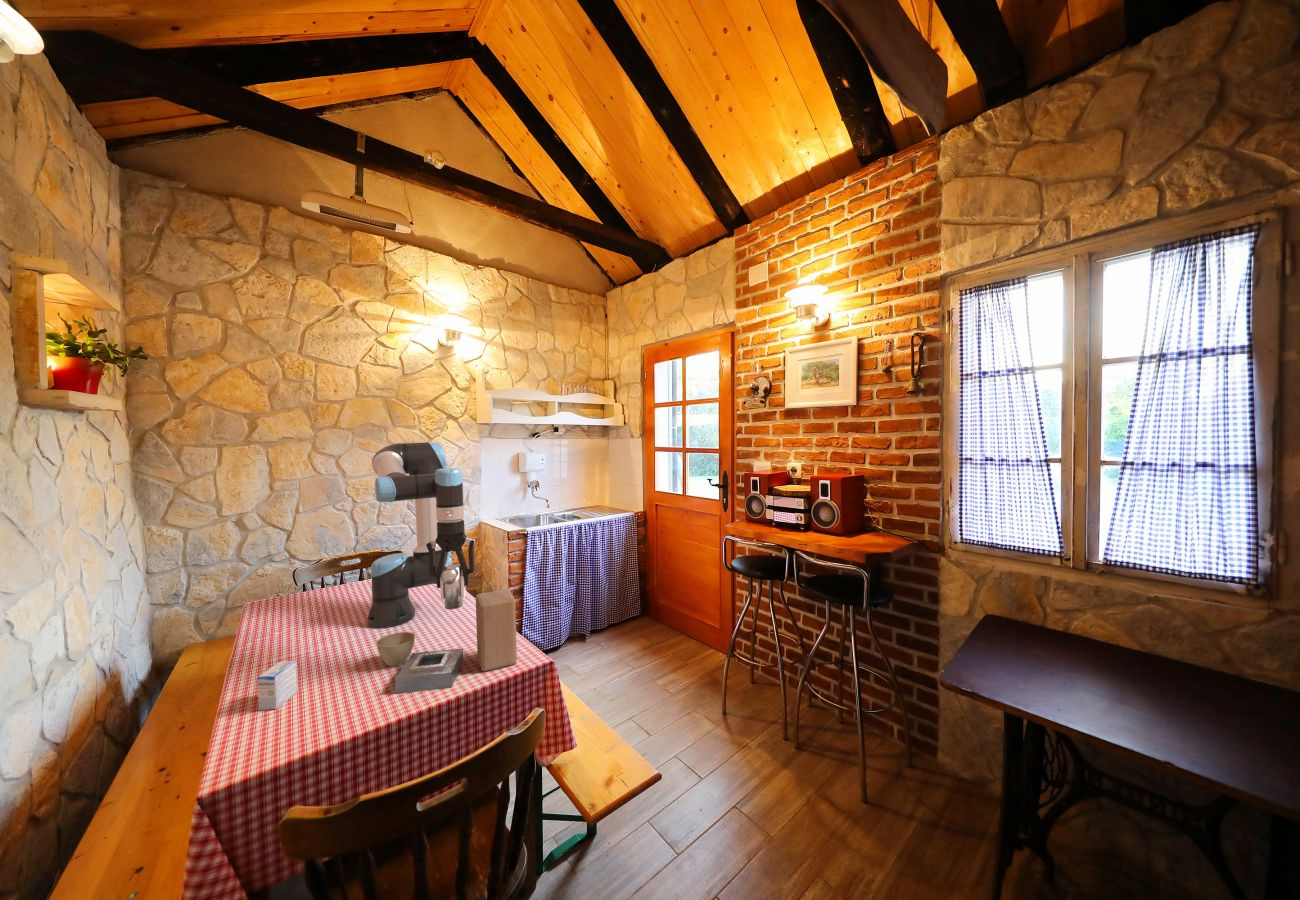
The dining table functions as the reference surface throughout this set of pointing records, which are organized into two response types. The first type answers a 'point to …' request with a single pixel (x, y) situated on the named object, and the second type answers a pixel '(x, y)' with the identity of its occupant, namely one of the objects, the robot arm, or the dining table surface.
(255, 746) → the dining table surface
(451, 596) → the elbow
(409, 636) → the flower pot
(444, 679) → the duct socket
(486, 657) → the block
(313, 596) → the dining table surface
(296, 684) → the medicine box
